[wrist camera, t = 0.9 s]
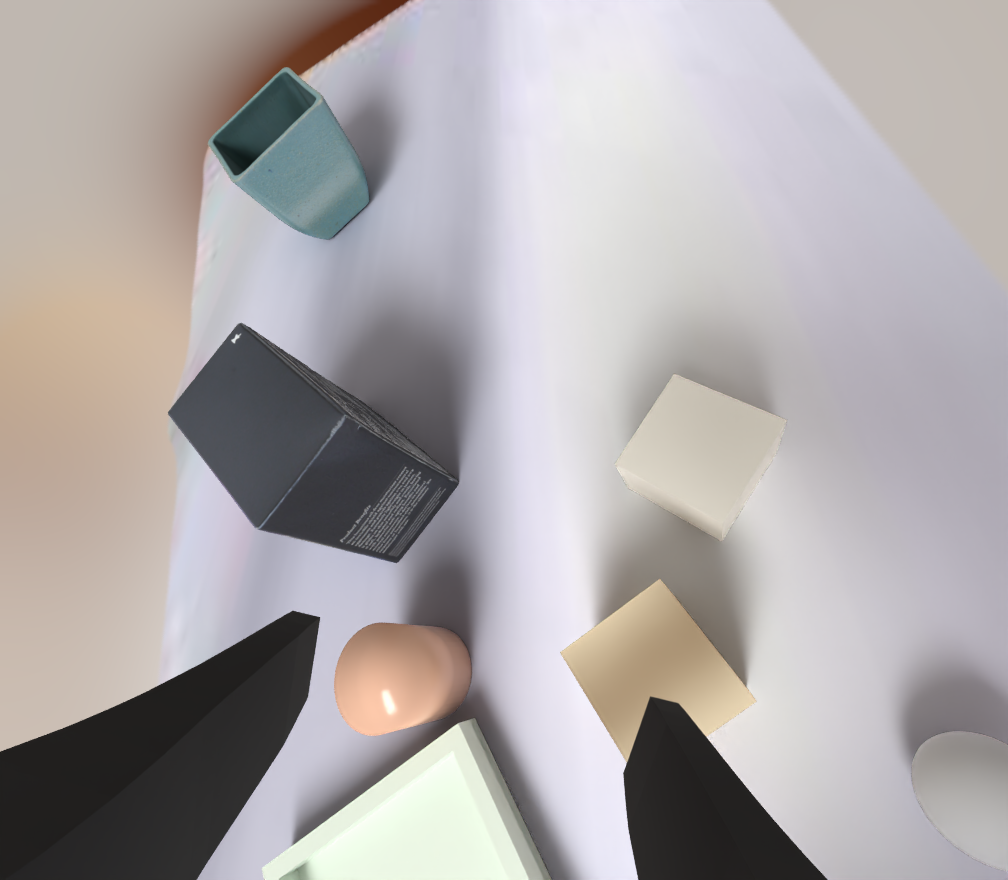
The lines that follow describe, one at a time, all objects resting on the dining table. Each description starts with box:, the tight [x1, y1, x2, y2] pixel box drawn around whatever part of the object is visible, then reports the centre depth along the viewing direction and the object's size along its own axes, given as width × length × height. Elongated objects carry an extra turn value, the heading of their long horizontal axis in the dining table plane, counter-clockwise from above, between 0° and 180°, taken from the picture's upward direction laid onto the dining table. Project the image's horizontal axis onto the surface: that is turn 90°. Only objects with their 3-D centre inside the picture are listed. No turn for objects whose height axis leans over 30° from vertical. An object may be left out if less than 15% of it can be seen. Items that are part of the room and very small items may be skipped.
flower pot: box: [208, 67, 369, 240], centre depth 40 cm, size 9×9×9 cm
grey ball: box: [911, 731, 1008, 872], centre depth 15 cm, size 4×4×4 cm
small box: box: [168, 323, 458, 563], centre depth 27 cm, size 11×6×10 cm, turn 50°
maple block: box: [560, 579, 757, 762], centre depth 19 cm, size 4×4×6 cm
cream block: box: [615, 374, 787, 542], centre depth 22 cm, size 5×5×4 cm
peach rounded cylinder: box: [334, 623, 472, 736], centre depth 23 cm, size 4×4×5 cm
